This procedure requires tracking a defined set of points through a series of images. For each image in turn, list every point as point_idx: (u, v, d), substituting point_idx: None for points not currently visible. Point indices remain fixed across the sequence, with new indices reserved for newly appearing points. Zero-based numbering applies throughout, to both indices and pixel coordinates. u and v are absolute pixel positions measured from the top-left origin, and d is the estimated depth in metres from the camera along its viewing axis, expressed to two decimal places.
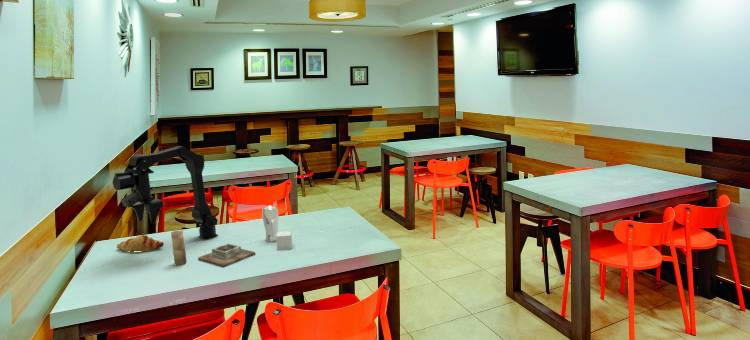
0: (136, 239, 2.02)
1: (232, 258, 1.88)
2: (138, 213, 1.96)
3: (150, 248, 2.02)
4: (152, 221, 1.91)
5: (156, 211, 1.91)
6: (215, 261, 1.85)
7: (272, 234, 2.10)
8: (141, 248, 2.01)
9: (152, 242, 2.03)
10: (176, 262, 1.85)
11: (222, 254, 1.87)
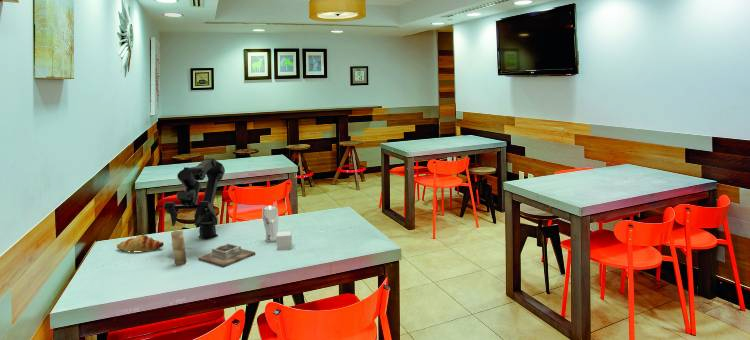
0: (136, 239, 2.02)
1: (232, 258, 1.88)
2: (174, 218, 1.94)
3: (150, 248, 2.02)
4: (196, 222, 1.93)
5: (202, 215, 1.97)
6: (215, 261, 1.85)
7: (272, 234, 2.10)
8: (141, 248, 2.01)
9: (152, 242, 2.03)
10: (176, 262, 1.85)
11: (222, 254, 1.87)
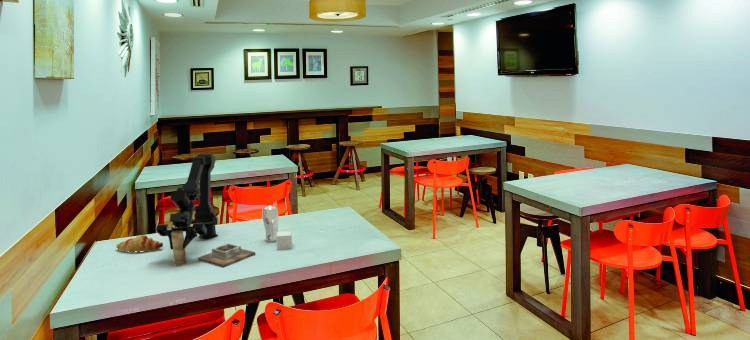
0: (135, 239, 2.01)
1: (232, 258, 1.88)
2: None
3: (149, 248, 2.02)
4: (184, 245, 1.85)
5: (190, 238, 1.89)
6: (215, 261, 1.85)
7: (272, 234, 2.10)
8: (140, 248, 2.00)
9: (151, 242, 2.03)
10: (176, 262, 1.85)
11: (222, 254, 1.87)
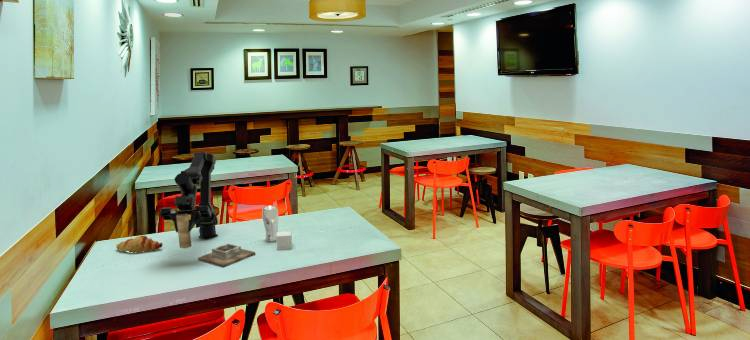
0: (135, 239, 2.01)
1: (232, 258, 1.88)
2: None
3: (149, 249, 2.01)
4: (190, 228, 1.84)
5: (195, 221, 1.88)
6: (215, 261, 1.85)
7: (272, 234, 2.10)
8: (139, 248, 2.00)
9: (151, 243, 2.02)
10: (181, 245, 1.84)
11: (222, 254, 1.87)
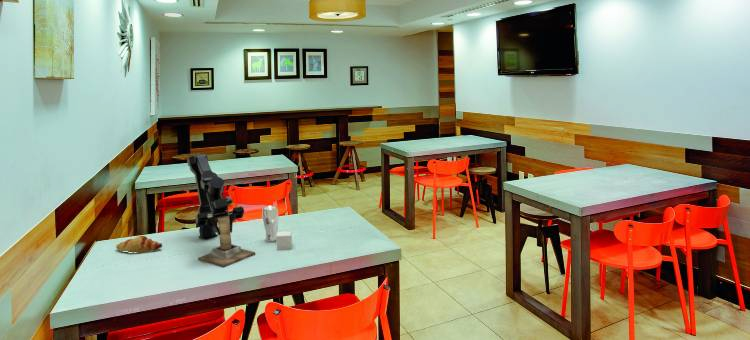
0: (134, 240, 2.01)
1: (232, 258, 1.88)
2: None
3: (148, 249, 2.01)
4: None
5: None
6: (215, 261, 1.85)
7: (272, 234, 2.10)
8: (139, 249, 2.00)
9: (150, 243, 2.02)
10: (225, 246, 1.90)
11: (222, 254, 1.87)
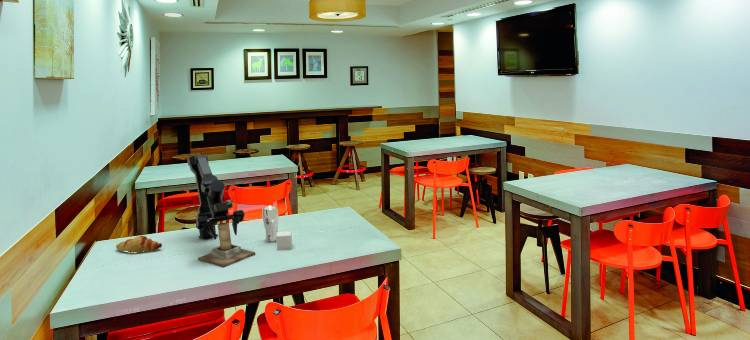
0: (134, 240, 2.01)
1: (232, 258, 1.88)
2: None
3: (148, 249, 2.01)
4: (236, 231, 1.92)
5: None
6: (215, 261, 1.85)
7: (272, 234, 2.10)
8: (139, 249, 2.00)
9: (150, 243, 2.02)
10: None
11: (222, 254, 1.87)
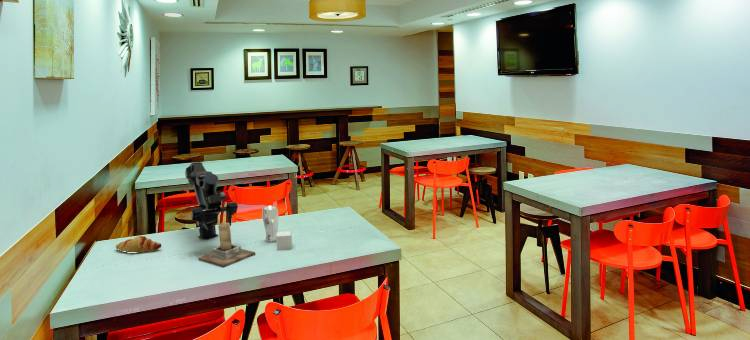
0: (134, 240, 2.01)
1: (232, 258, 1.88)
2: None
3: (147, 249, 2.01)
4: None
5: None
6: (215, 261, 1.85)
7: (272, 234, 2.10)
8: (138, 249, 2.00)
9: (150, 243, 2.02)
10: None
11: (222, 254, 1.87)
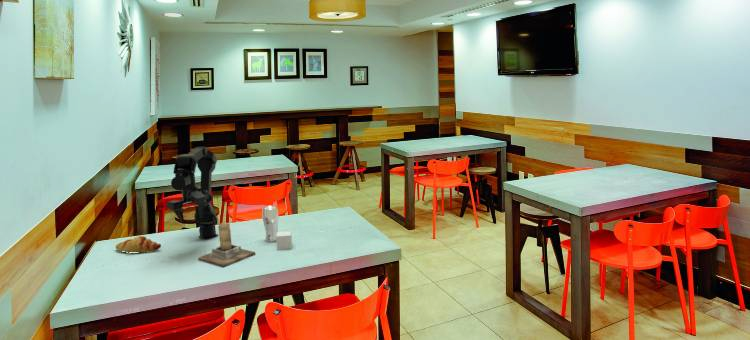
0: (133, 240, 2.00)
1: (232, 258, 1.88)
2: None
3: (147, 250, 2.00)
4: None
5: None
6: (215, 261, 1.85)
7: (272, 234, 2.10)
8: (138, 249, 1.99)
9: (149, 244, 2.02)
10: None
11: (222, 254, 1.87)
